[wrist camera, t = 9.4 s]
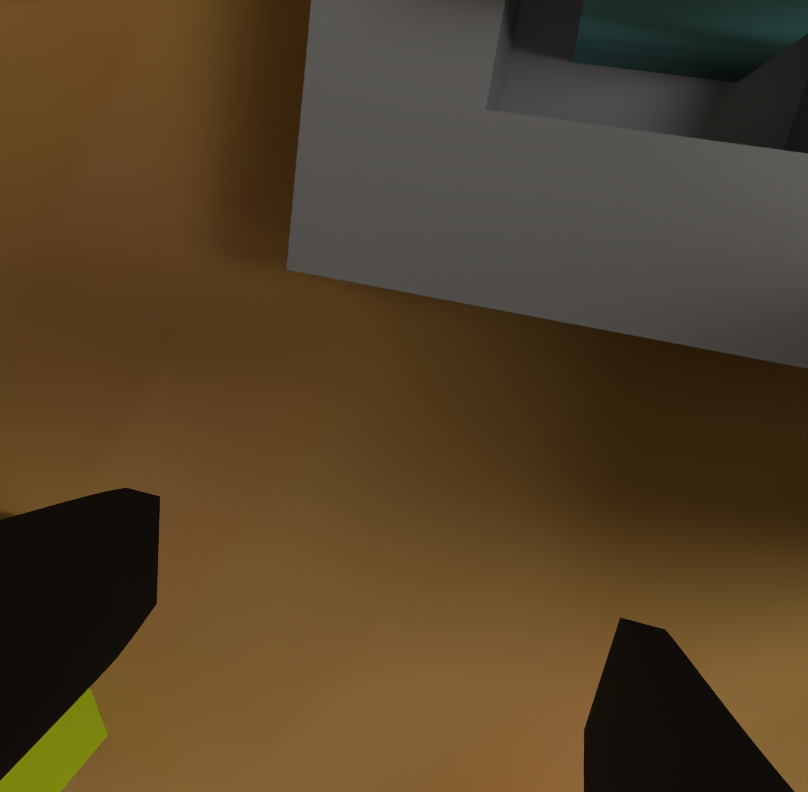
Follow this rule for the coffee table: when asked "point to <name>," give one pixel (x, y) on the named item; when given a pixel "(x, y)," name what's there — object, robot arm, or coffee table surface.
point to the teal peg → (689, 35)
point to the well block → (553, 175)
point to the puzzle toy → (59, 750)
